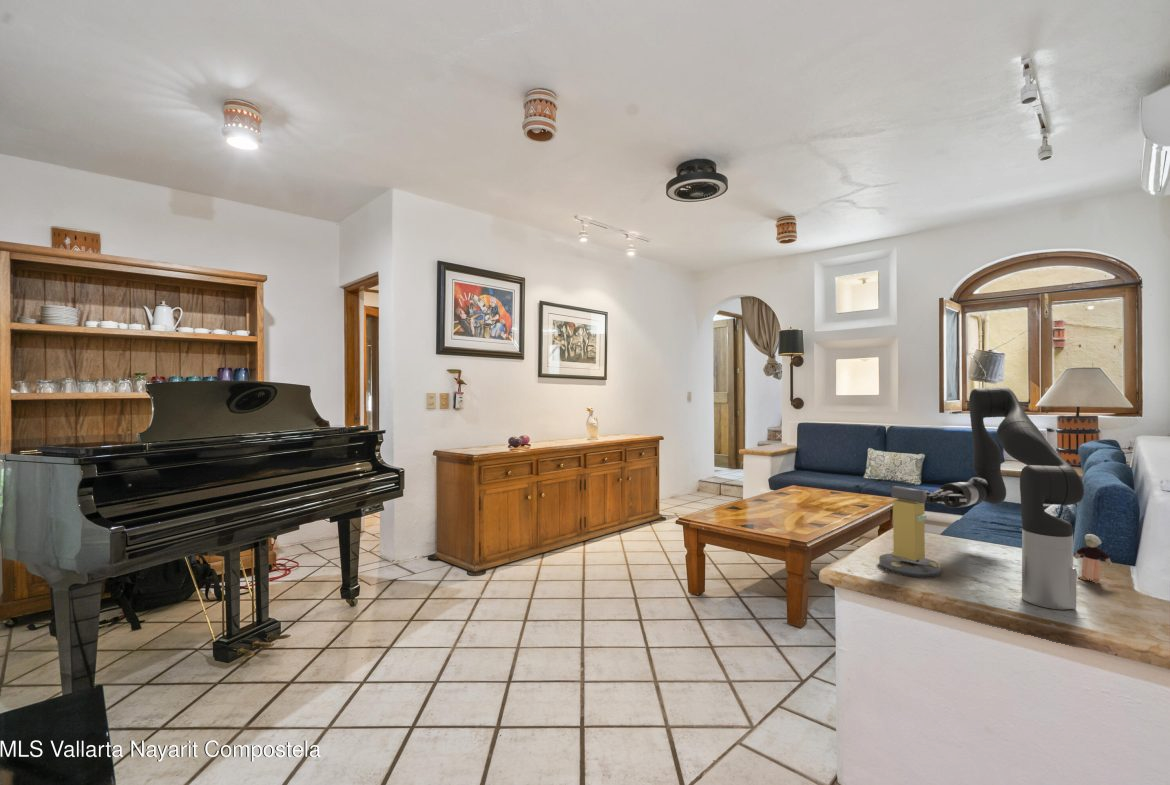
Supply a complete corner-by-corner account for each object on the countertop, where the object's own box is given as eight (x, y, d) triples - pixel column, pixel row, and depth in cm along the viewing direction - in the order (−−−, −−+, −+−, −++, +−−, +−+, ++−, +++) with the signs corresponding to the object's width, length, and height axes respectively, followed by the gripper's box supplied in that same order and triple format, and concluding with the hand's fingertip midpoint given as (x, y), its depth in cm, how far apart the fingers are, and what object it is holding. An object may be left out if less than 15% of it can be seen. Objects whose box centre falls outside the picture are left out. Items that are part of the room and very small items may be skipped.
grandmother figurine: (1071, 578, 145) (1071, 532, 144) (1075, 575, 147) (1075, 530, 147) (1110, 587, 138) (1111, 538, 138) (1113, 583, 141) (1114, 536, 141)
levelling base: (898, 557, 163) (898, 549, 163) (951, 571, 150) (951, 563, 150) (868, 565, 156) (868, 557, 156) (921, 581, 143) (921, 572, 143)
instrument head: (900, 554, 158) (899, 485, 157) (928, 561, 150) (928, 489, 150) (890, 557, 155) (889, 486, 155) (918, 565, 148) (918, 491, 148)
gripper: (936, 479, 171) (905, 483, 163) (982, 485, 160) (951, 490, 151) (936, 503, 171) (905, 508, 163) (983, 510, 160) (952, 516, 151)
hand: (927, 499), depth 157 cm, fingers closed
